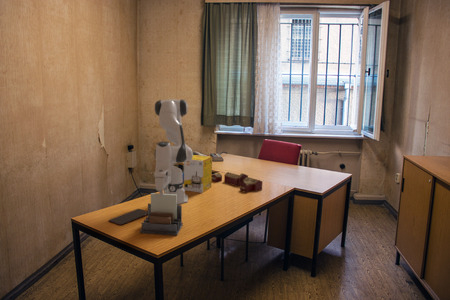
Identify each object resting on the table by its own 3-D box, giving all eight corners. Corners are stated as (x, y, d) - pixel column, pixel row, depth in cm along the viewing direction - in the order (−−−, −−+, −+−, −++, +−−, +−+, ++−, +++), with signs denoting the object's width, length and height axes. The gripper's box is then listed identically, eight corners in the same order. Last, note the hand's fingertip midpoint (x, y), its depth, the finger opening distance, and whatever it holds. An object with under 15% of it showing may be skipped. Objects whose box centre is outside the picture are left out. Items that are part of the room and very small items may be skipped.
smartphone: (106, 220, 219) (138, 208, 240) (106, 222, 220) (138, 210, 240) (120, 225, 212) (151, 212, 233) (120, 227, 213) (151, 214, 233)
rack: (148, 222, 219) (147, 202, 216) (182, 225, 217) (182, 204, 214) (140, 233, 204) (139, 211, 202) (177, 235, 202) (177, 214, 200)
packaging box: (183, 190, 285) (183, 158, 280) (193, 184, 299) (193, 154, 294) (202, 192, 279) (203, 160, 274) (211, 187, 293) (212, 156, 288)
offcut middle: (151, 224, 212) (151, 211, 210) (173, 226, 211) (173, 213, 209) (150, 226, 210) (150, 213, 208) (172, 227, 209) (172, 214, 207)
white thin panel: (151, 222, 216) (151, 193, 212) (176, 223, 214) (176, 194, 211) (151, 223, 214) (150, 193, 211) (176, 224, 213) (176, 195, 209)
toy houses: (264, 189, 294) (264, 176, 292) (247, 194, 280) (247, 181, 278) (225, 177, 325) (225, 166, 323) (207, 181, 311) (208, 169, 309)
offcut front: (150, 227, 208) (150, 216, 207) (171, 229, 207) (171, 217, 206) (149, 229, 206) (149, 217, 205) (170, 230, 205) (170, 218, 204)
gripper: (162, 166, 219) (163, 188, 221) (153, 174, 199) (153, 198, 201) (173, 166, 218) (173, 189, 220) (164, 175, 198) (164, 199, 200)
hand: (163, 193), depth 211 cm, fingers open, 8 cm apart
